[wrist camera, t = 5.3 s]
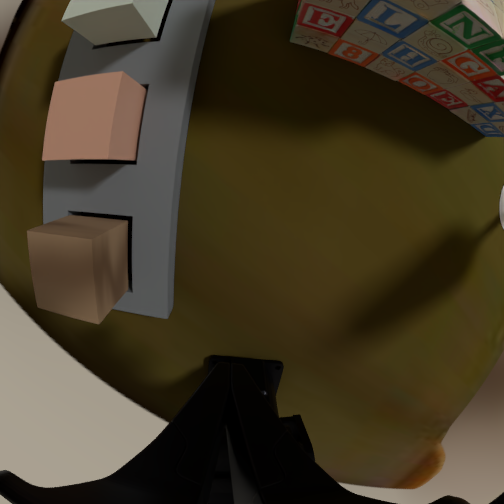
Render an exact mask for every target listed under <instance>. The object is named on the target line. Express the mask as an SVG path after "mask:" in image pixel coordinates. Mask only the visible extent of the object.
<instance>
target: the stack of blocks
mask: <svg viewBox="0 0 504 504" xmlns="http://www.w3.org/2000/svg"><path fill="white" fill-rule="evenodd" d="M290 42H292V43H296V44H300V45H303V46H307V47H310V48H314V49H317V50H320V51H323V52H326V53H328V54H330V55H333V56H336V57H339V58H341V59H344V60H347V61H350V62H352V63H355V64H357V65H360V66H363V67H365V68H367V69H370V70H372V71H374V72H376V73H379V74H381V75H383V76H385V77H387V78H390V79H392V80H394V81H399V82H400V83H402V84H405V85H406V86H409V87H410V88H412V89H414V90H416V91H418V92H420V93H421V94H423V95H426V96H428V97H429V98H431V99H433V100H434V101H436V102H438V103H439V104H441V105H443V106H444V107H446V108H448V109H449V110H450V112H452V113H454V114H455V115H457V116H458V117H460V118H461V119H462V120H464V121H465V122H467V123H468V124H470V125H471V126H472V127H474V128H475V129H476V130H478V131H479V132H481V133H482V134H483V135H484V136H486V137H504V0H299V1H298V5H297V9H296V16H295V21H294V25H293V29H292V33H291V37H290Z"/></svg>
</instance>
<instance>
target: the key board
mask: <svg viewBox="0 0 504 504" xmlns="http://www.w3.org/2000/svg"><path fill="white" fill-rule="evenodd" d="M214 3H215V0H173V1H172V4H171V7H170V10H169V13H168V16H167V19H166V22H165V26H164V29H163V32H162V36H161V39H160V41H157V42H143V43H133V44H125V45H117V46H110V47H106V46H107V43H106V44H100V45H94V44H93V43H92V42H90V41H89V40H87V39H86V38H85V37H83V36H82V35H81V34H79V33H78V32H76V31H75V30H74V32H73V34H72V37H71V40H70V43H69V46H68V49H67V52H66V55H65V58H64V61H63V65H62V68H61V72H60V76H59V79H58V81H62V80H67V79H72V78H77V77H82V76H89V75H95V74H102V73H110V72H119V71H123V72H125V73H126V74H127V75H129V76H130V77H131V78H132V79H134V80H135V81H136V82H138V83H139V84H140V85H141V86H143V87H144V88H145V89H146V90H148V93H147V98H146V103H145V109H144V115H143V121H142V127H141V134H140V141H139V149H138V157H137V165H130V164H83V163H84V160H45V166H44V184H43V224H46V223H49V222H52V221H54V220H57V219H60V218H63V217H66V216H69V215H75V216H81V212H91V213H103V214H113V215H124V216H133V223H132V281H130V280H128V290H127V291H126V293H125V294H124V295H123V296H122V297H121V298H120V300H119V301H118V302H117V303H116V304H115V306H114V307H113V308H112V309H115V310H120V311H125V312H131V313H136V314H141V315H147V316H153V317H159V318H165V319H168V317H169V315H170V312H171V310H172V308H173V295H174V265H175V246H176V231H177V218H178V206H179V195H180V186H181V176H182V168H183V160H184V152H185V144H186V137H187V131H188V124H189V118H190V112H191V106H192V100H193V94H194V89H195V84H196V79H197V74H198V69H199V64H200V59H201V55H202V50H203V46H204V42H205V37H206V33H207V29H208V25H209V21H210V18H211V14H212V10H213V7H214Z"/></svg>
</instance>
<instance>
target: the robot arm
mask: <svg viewBox="0 0 504 504" xmlns="http://www.w3.org/2000/svg"><path fill="white" fill-rule="evenodd" d="M213 360H216V361H217V362H214V361H213ZM276 366H279V367H276ZM283 368H284V366H283V363H282V362H281V361H273V360H258V359H246V358H235V357H225V356H216V355H213V356H211V357H210V359H209V371H208V376H207V377H206V378H205V379H204V381H203V382H202V383H201V385H200V386H199V387H198V388H197V390H196V391H195V392H194V393H193V395H192V396H191V397H190V398H189V400H188V401H187V402H186V403H185V405H184V406H183V407H182V408H181V409H180V411H179V412H178V413H177V414H176V416H175V417H174V418H173V419H172V422H170V423H169V424H168V425H167V426H166V428H165V429H164V430H163V431H162V432H161V433H160V434H159V435H158V436H157V437H156V439H154V440H153V441H152V442H151V443H150V444H149V445H148V446H147V447H146V448H145V449H144V450H142V451H141V452H140V453H139V454H137V455H136V456H135V457H134V458H133V459H132V460H130V461H129V462H128V463H126V464H125V465H124V466H123V467H121V468H120V469H119V470H117V471H116V472H115V473H113V474H111V475H110V476H108V477H105V478H103V479H99V480H95V481H90V482H85V483H81V484H74V485H69V486H62V487H54V488H43V487H38V486H34V485H31V484H29V483H27V482H25V481H24V480H22V479H21V478H19V477H18V476H16V475H15V474H13V473H11V472H10V471H7V470H3V471H0V495H2V496H3V497H4V498H5V499H7V500H8V501H9V502H11V503H12V504H396V503H390V502H386V501H381V500H377V499H373V498H369V497H365V496H361V495H357V494H355V493H352V492H350V491H348V490H346V489H345V488H343V487H342V486H341V485H339V484H338V483H337V482H336V481H335V480H334V479H333V478H332V477H331V476H329V475H328V474H327V473H326V472H325V471H324V470H323V469H322V468H321V467H320V466H319V465H318V464H317V463H316V462H315V457H314V452H313V447H312V444H311V442H310V439H309V436H308V434H307V431H306V429H305V426H304V424H303V421H302V419H301V416H300V414H299V415H293V416H291V417H281V418H279V415H278V409H277V402H276V393H277V389H278V386H279V382H280V379H281V375H282V372H283ZM429 504H470V503H468V502H467V501H466V500H464V499H462V498H459V497H453V496H450V495H448V496H444V497H442V498H440V499H438V500H436V501H434V502H432V503H429ZM489 504H504V492H503V493H502V494H501V495H500V496H499V497H497V498H496V499H494V500H493V501H492V502H491V503H489Z"/></svg>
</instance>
